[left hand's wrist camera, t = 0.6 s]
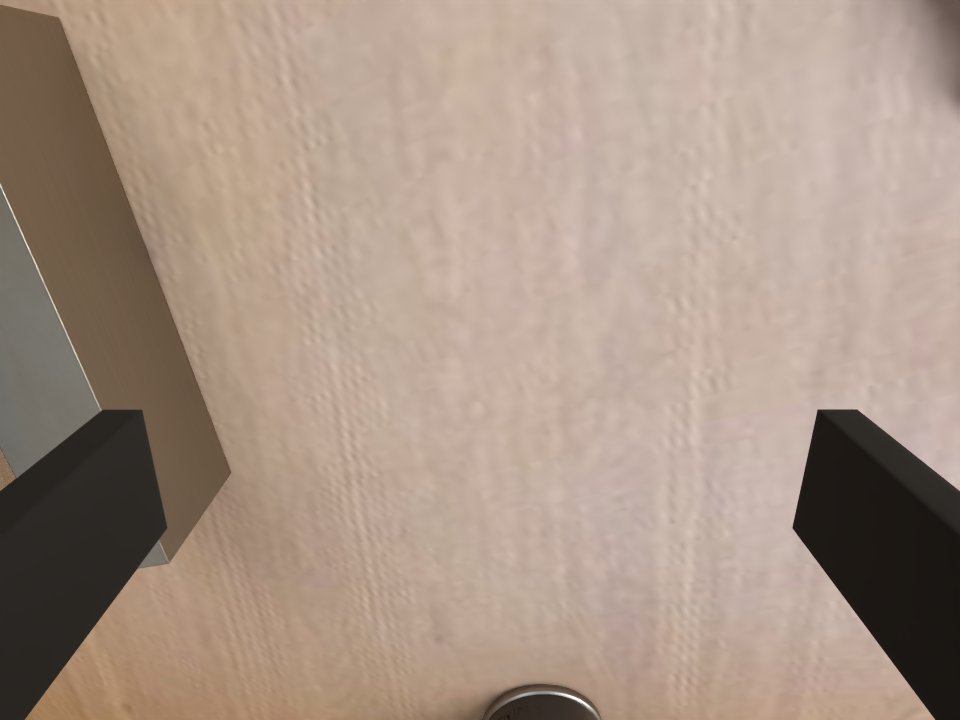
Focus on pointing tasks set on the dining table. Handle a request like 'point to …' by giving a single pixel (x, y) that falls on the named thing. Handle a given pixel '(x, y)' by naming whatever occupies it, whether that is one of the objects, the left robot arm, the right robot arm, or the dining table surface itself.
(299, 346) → the dining table surface
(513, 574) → the dining table surface
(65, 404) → the bar
